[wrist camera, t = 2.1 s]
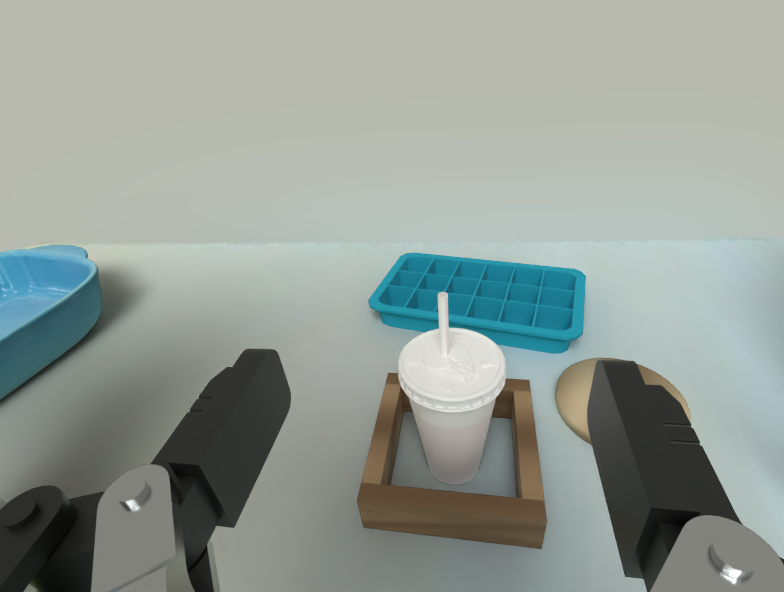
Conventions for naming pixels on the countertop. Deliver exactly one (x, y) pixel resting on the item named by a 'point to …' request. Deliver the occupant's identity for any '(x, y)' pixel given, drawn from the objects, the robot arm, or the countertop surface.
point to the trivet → (577, 391)
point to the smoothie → (452, 394)
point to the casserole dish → (43, 308)
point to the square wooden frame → (456, 509)
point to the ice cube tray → (485, 299)
